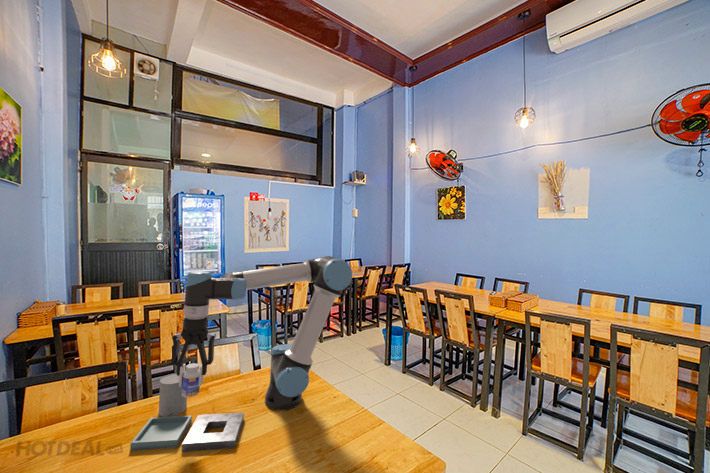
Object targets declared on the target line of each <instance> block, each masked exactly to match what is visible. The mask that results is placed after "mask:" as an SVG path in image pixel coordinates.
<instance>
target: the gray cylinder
mask: <svg viewBox="0 0 710 473" xmlns="http://www.w3.org/2000/svg"><path fill="white" fill-rule="evenodd" d="M179 377H180V376H177V372H174V373H170V374H167V375H164V376H163V377H161V378H160V379H159V396H158V397H159V398H158V399H159V400H158V415H159V417H173V416H179V415H180V414H182V413H184V412H185V411H186V410H187V407H188V404H187V402H188V401H187V400H188V397H183V396H182V386H179Z"/></svg>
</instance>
